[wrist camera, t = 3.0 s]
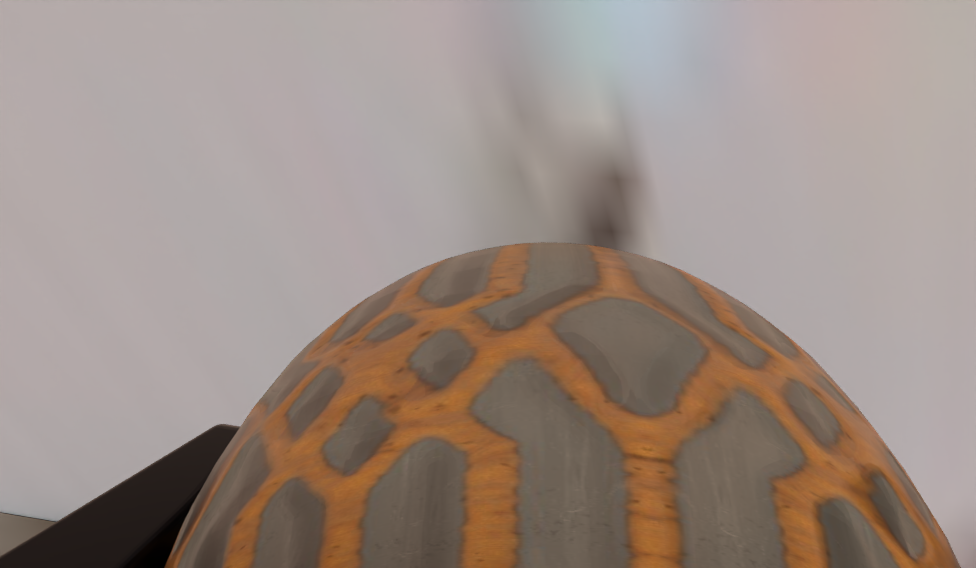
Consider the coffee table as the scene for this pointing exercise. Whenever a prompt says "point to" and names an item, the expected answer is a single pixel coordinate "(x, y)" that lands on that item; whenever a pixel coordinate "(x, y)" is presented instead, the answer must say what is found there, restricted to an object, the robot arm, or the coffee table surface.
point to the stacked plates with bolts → (18, 530)
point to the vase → (556, 434)
